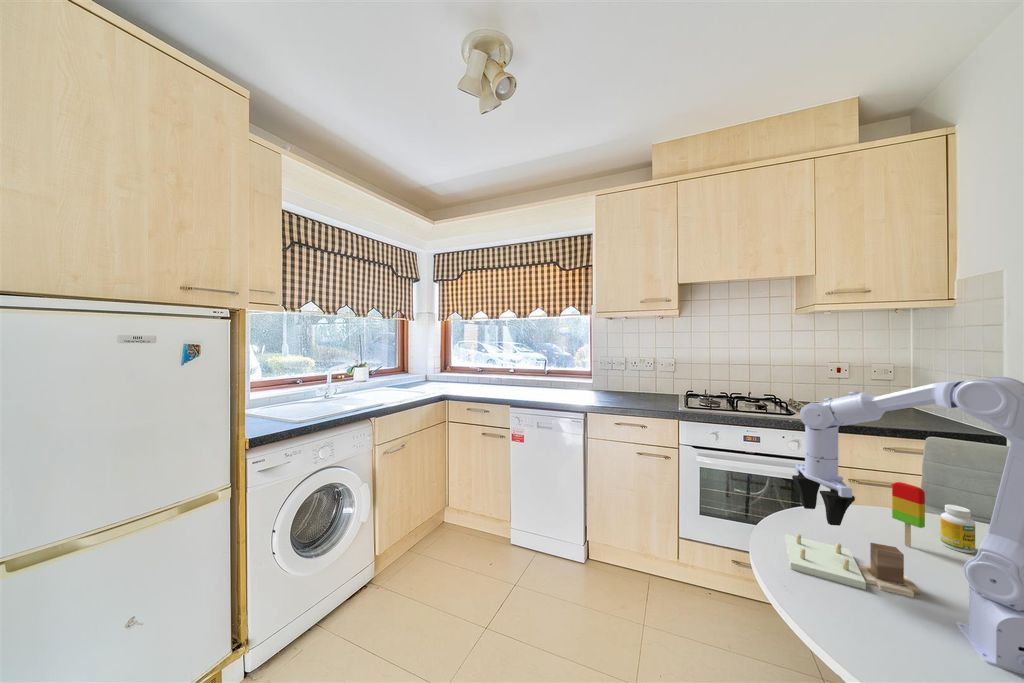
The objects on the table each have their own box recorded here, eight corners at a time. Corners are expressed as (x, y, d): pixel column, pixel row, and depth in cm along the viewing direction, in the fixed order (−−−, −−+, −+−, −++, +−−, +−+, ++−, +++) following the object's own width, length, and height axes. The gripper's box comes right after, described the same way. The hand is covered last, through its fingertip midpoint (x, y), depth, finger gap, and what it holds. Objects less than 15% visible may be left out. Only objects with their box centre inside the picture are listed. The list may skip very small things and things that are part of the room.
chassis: (865, 589, 73) (865, 572, 73) (790, 569, 79) (790, 553, 79) (849, 555, 85) (849, 540, 85) (784, 540, 91) (784, 526, 91)
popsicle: (890, 540, 91) (891, 480, 91) (895, 539, 91) (895, 480, 91) (920, 553, 86) (921, 489, 86) (925, 552, 86) (926, 488, 86)
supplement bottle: (949, 540, 91) (950, 502, 91) (981, 552, 86) (981, 511, 86) (934, 542, 90) (934, 504, 90) (965, 555, 85) (965, 514, 85)
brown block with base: (925, 600, 70) (925, 564, 70) (870, 588, 74) (870, 553, 74) (901, 576, 77) (902, 543, 77) (853, 566, 81) (853, 534, 81)
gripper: (868, 467, 74) (868, 534, 74) (817, 447, 89) (817, 502, 89) (830, 466, 75) (830, 531, 75) (786, 446, 90) (786, 501, 90)
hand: (821, 516), depth 82 cm, fingers open, 7 cm apart
